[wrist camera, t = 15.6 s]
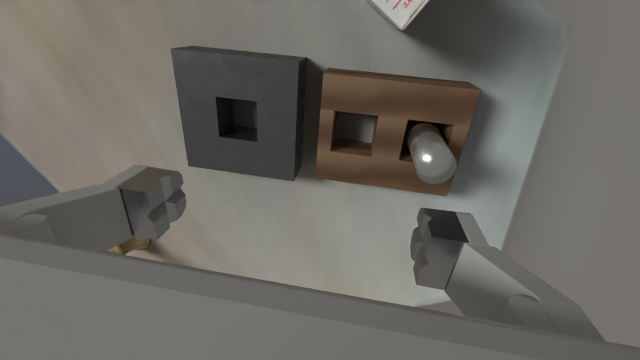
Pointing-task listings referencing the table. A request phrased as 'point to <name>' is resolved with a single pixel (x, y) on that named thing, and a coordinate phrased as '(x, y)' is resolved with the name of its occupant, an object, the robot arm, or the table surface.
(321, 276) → the table surface
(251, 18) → the table surface
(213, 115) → the socket block
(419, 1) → the ink cartridge box
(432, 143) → the metal vial
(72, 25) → the table surface
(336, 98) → the walnut rack
